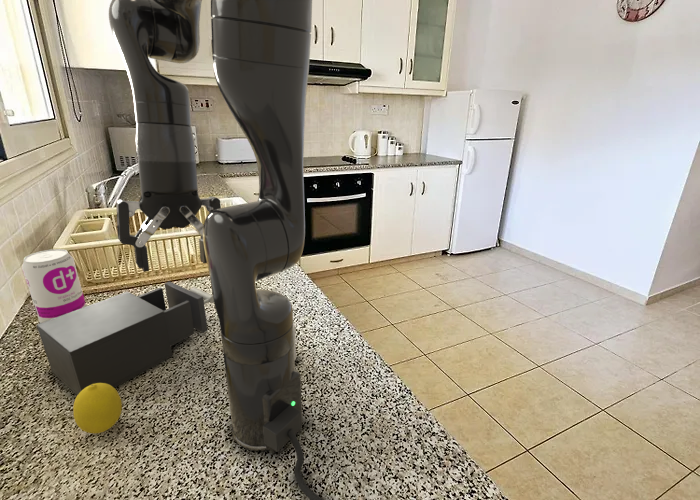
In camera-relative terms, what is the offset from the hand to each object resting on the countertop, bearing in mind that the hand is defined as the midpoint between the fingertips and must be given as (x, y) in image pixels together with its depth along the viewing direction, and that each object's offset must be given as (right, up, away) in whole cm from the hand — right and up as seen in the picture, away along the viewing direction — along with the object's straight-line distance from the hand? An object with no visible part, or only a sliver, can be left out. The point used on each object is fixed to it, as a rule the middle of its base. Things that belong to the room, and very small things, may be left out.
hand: (176, 265), depth 58 cm
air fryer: (-15, -18, +9) cm, 25 cm away
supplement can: (-34, -13, +22) cm, 42 cm away
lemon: (-8, -24, -4) cm, 25 cm away
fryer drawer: (-9, -14, +17) cm, 24 cm away
